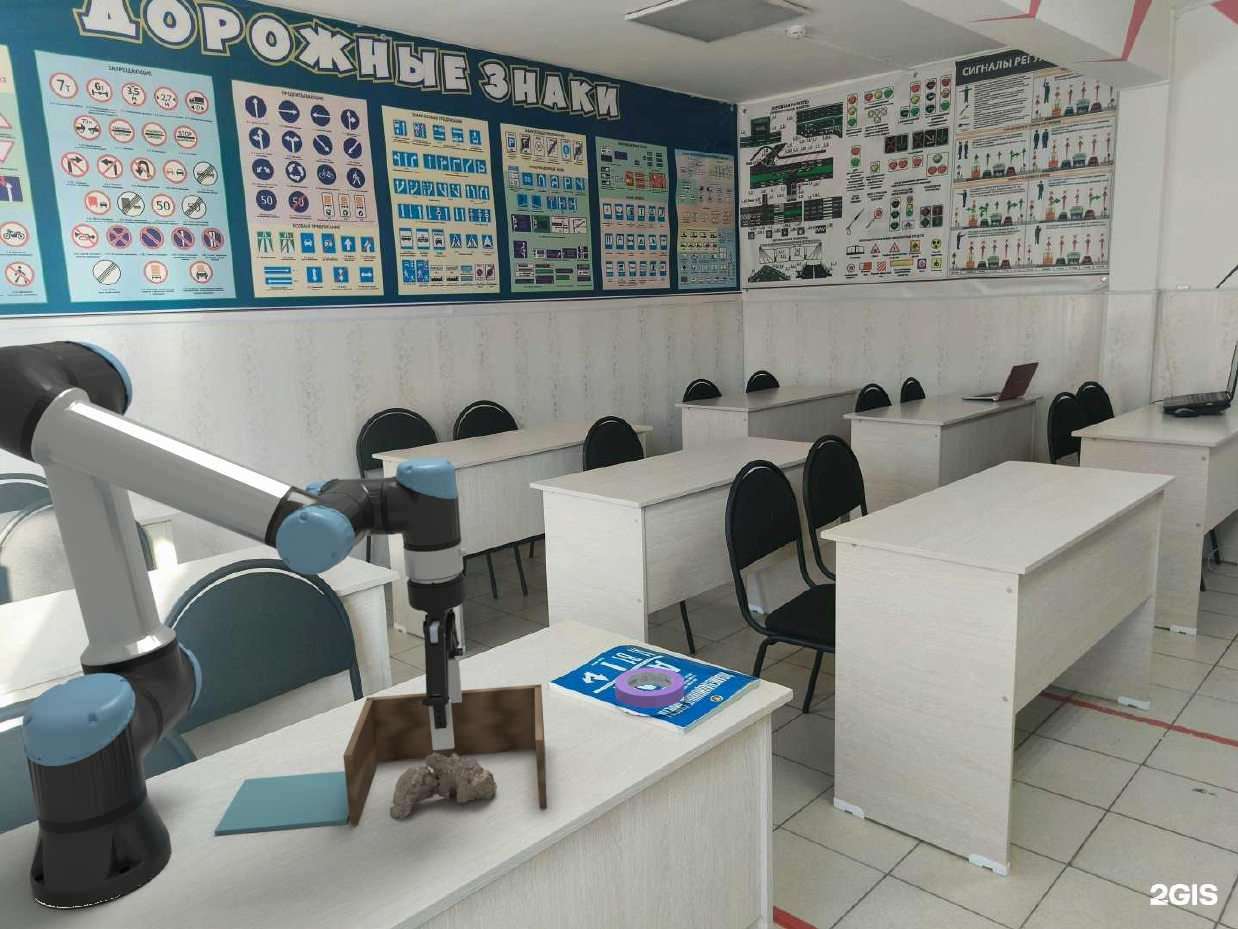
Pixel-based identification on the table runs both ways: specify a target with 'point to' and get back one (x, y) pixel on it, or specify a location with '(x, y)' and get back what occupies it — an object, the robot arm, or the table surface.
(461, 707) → the walnut cubby
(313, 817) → the teal rubber mat
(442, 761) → the rock
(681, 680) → the masking tape
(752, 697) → the table surface
